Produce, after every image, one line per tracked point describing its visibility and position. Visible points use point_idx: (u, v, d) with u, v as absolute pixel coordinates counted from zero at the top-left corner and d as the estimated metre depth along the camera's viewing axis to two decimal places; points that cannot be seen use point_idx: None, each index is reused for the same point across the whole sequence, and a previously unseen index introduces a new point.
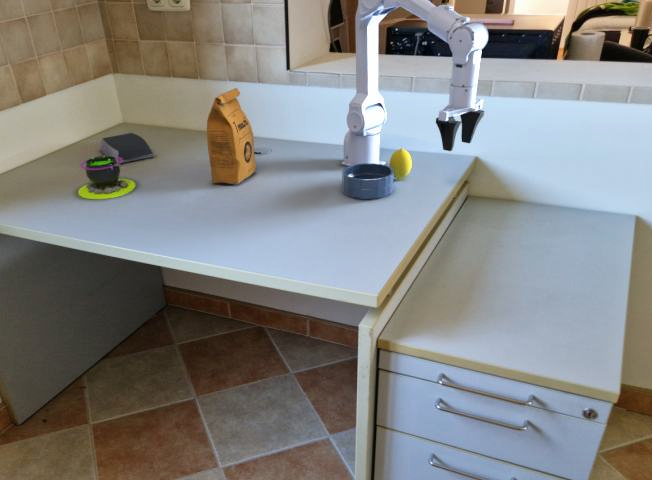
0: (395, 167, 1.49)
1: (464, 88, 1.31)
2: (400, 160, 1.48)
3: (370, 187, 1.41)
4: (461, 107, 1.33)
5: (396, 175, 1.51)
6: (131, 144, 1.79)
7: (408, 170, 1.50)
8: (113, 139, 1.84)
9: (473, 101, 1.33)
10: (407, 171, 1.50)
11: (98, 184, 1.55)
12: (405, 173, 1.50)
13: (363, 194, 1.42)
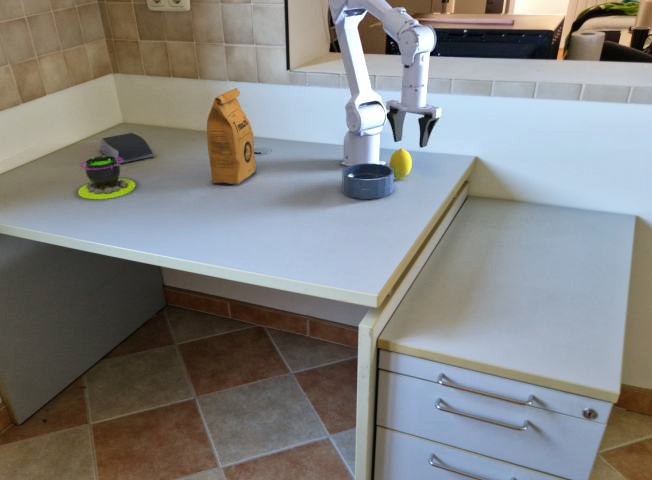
0: (395, 167, 1.49)
1: None
2: (400, 160, 1.48)
3: (370, 187, 1.41)
4: (400, 103, 1.42)
5: (396, 175, 1.51)
6: (131, 144, 1.79)
7: (408, 170, 1.50)
8: (113, 139, 1.84)
9: (406, 101, 1.39)
10: (407, 171, 1.50)
11: (98, 184, 1.55)
12: (405, 173, 1.50)
13: (363, 194, 1.42)
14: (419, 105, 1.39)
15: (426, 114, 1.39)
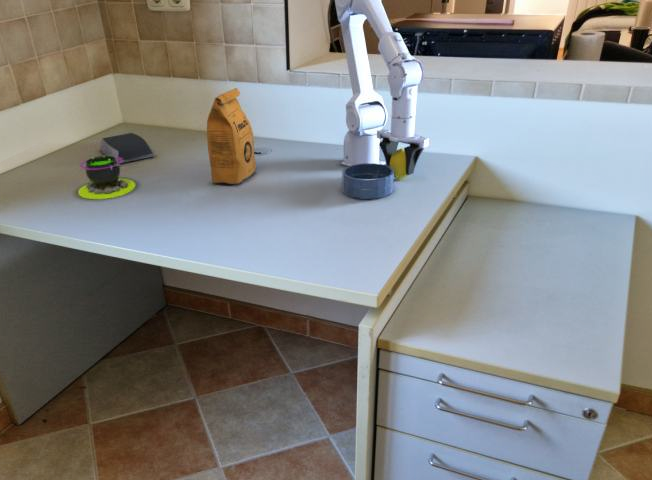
0: (395, 167, 1.49)
1: (391, 116, 1.45)
2: (400, 160, 1.48)
3: (370, 187, 1.41)
4: (390, 133, 1.47)
5: (396, 175, 1.51)
6: (131, 144, 1.79)
7: None
8: (113, 139, 1.84)
9: (395, 132, 1.44)
10: None
11: (98, 184, 1.55)
12: (405, 173, 1.50)
13: (363, 194, 1.42)
14: (408, 135, 1.44)
15: (412, 143, 1.45)
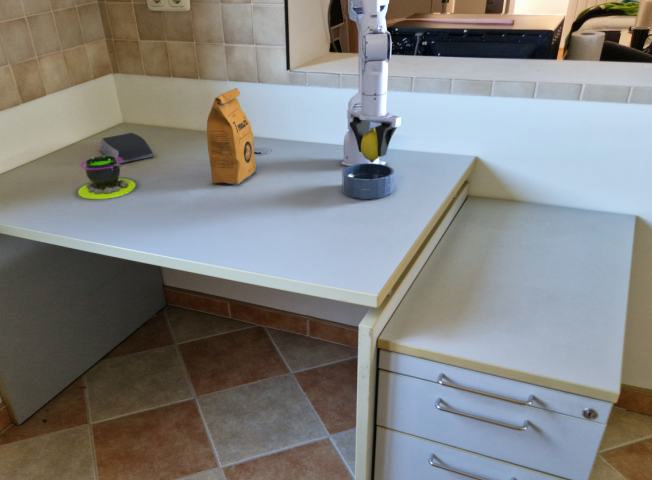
0: (366, 149, 1.40)
1: (361, 94, 1.36)
2: (371, 140, 1.39)
3: (370, 187, 1.41)
4: (360, 112, 1.38)
5: (368, 157, 1.42)
6: (131, 144, 1.79)
7: None
8: (113, 139, 1.84)
9: (366, 110, 1.36)
10: None
11: (98, 184, 1.55)
12: (377, 155, 1.41)
13: (363, 194, 1.42)
14: (379, 114, 1.35)
15: (383, 123, 1.36)
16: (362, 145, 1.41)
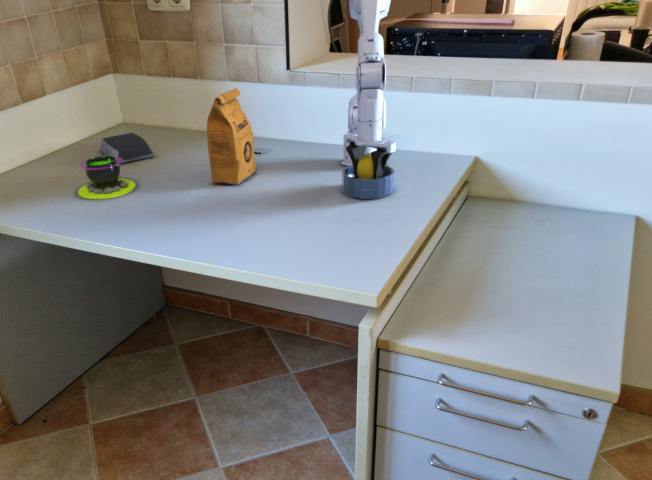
0: (362, 173, 1.43)
1: (357, 120, 1.38)
2: (367, 165, 1.42)
3: (370, 187, 1.41)
4: (356, 137, 1.41)
5: None
6: (131, 144, 1.79)
7: None
8: (113, 139, 1.84)
9: (361, 136, 1.38)
10: None
11: (98, 184, 1.55)
12: None
13: (363, 194, 1.42)
14: (374, 139, 1.38)
15: (379, 148, 1.39)
16: (358, 169, 1.44)
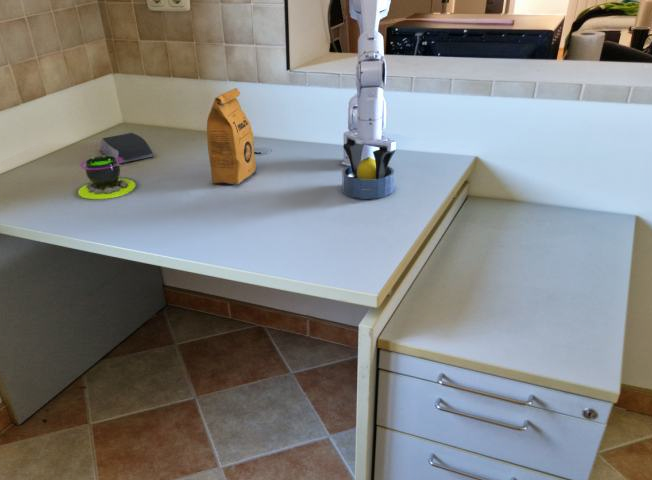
0: (362, 177, 1.43)
1: (357, 118, 1.38)
2: (367, 169, 1.42)
3: (370, 187, 1.41)
4: (356, 135, 1.41)
5: None
6: (131, 144, 1.79)
7: None
8: (113, 139, 1.84)
9: (361, 134, 1.38)
10: None
11: (98, 184, 1.55)
12: None
13: (363, 194, 1.42)
14: (374, 138, 1.38)
15: (381, 147, 1.38)
16: (358, 173, 1.44)
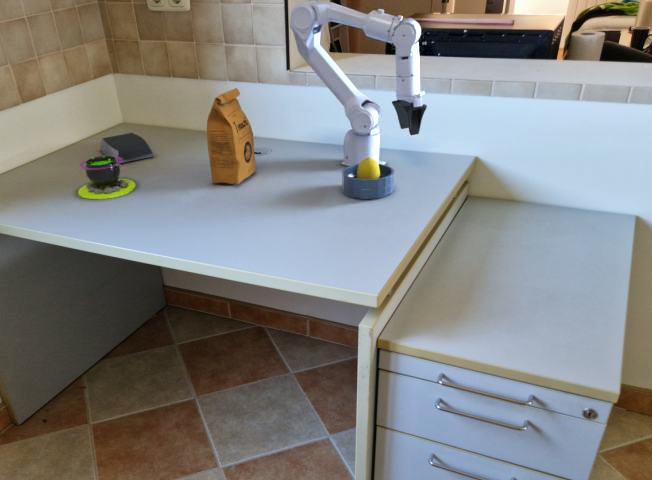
0: (362, 177, 1.43)
1: (417, 75, 1.46)
2: (367, 169, 1.42)
3: (370, 187, 1.41)
4: (417, 93, 1.48)
5: None
6: (131, 144, 1.79)
7: None
8: (113, 139, 1.84)
9: None
10: None
11: (98, 184, 1.55)
12: None
13: (363, 194, 1.42)
14: None
15: None
16: (358, 173, 1.44)
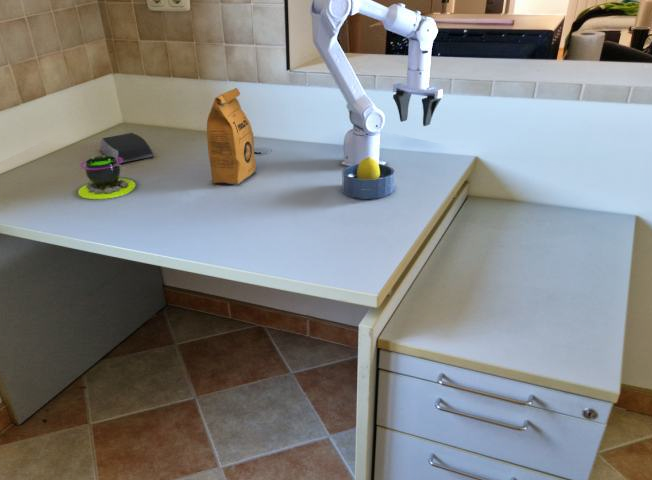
0: (362, 177, 1.43)
1: (429, 69, 1.54)
2: (367, 169, 1.42)
3: (370, 187, 1.41)
4: (428, 85, 1.56)
5: None
6: (131, 144, 1.79)
7: None
8: (113, 139, 1.84)
9: None
10: None
11: (98, 184, 1.55)
12: None
13: (363, 194, 1.42)
14: None
15: (404, 90, 1.61)
16: (358, 173, 1.44)
